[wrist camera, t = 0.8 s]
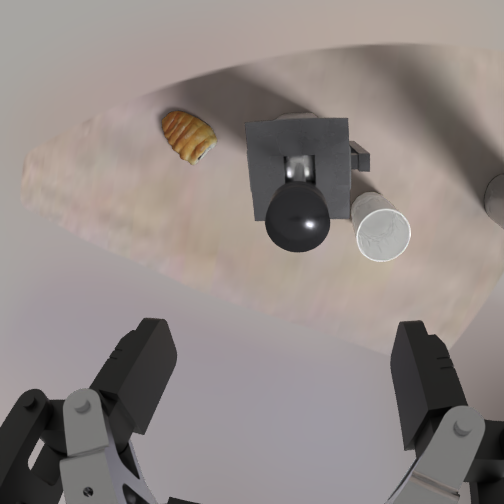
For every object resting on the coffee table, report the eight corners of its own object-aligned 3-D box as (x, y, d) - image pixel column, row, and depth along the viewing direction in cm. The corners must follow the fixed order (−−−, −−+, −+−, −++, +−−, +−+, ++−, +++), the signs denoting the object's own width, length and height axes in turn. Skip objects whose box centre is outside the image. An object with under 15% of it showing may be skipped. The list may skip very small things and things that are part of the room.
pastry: (157, 130, 48) (147, 133, 44) (181, 99, 45) (172, 100, 41) (197, 166, 50) (189, 171, 46) (223, 136, 47) (217, 139, 43)
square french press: (348, 112, 42) (376, 118, 25) (350, 175, 46) (376, 218, 30) (264, 114, 44) (242, 122, 28) (270, 177, 48) (252, 221, 32)
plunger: (337, 127, 28) (370, 150, 15) (339, 203, 32) (364, 283, 18) (257, 130, 29) (217, 156, 16) (264, 205, 33) (235, 284, 20)
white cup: (348, 234, 51) (356, 264, 42) (345, 189, 47) (355, 210, 39) (392, 231, 49) (408, 259, 40) (392, 186, 46) (411, 206, 37)
